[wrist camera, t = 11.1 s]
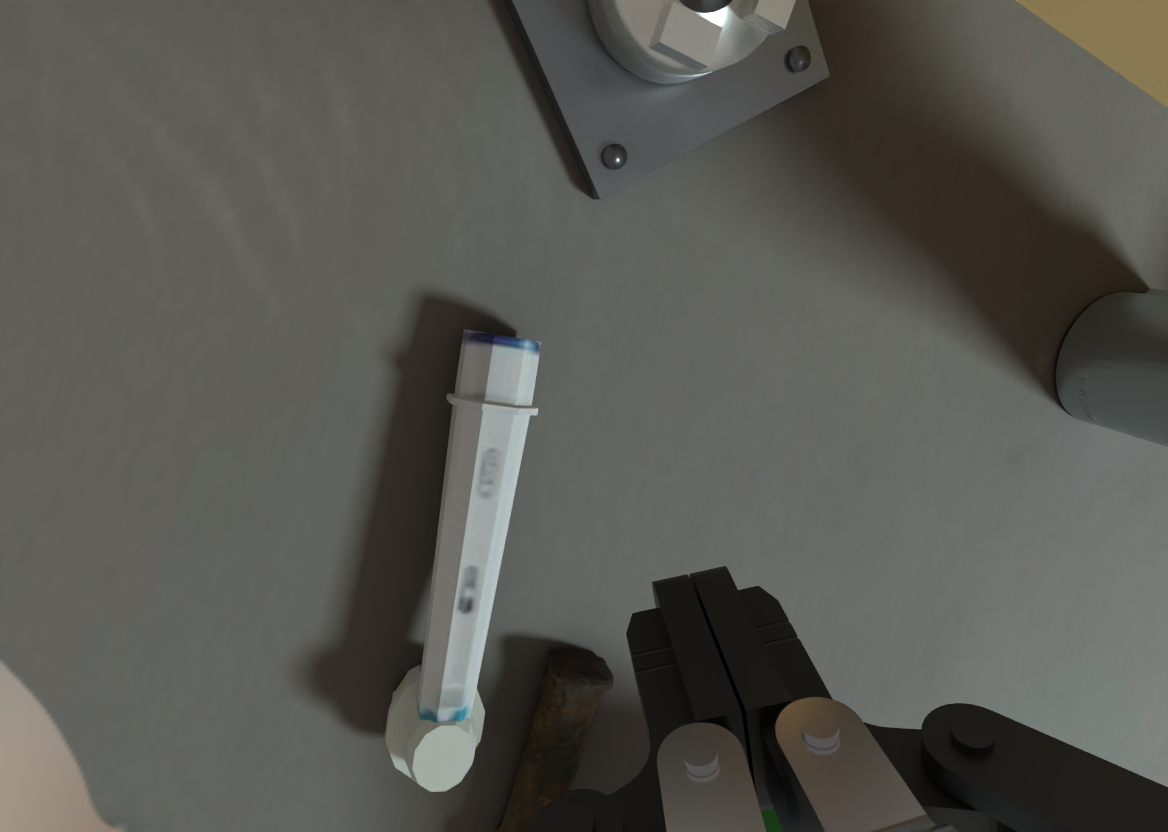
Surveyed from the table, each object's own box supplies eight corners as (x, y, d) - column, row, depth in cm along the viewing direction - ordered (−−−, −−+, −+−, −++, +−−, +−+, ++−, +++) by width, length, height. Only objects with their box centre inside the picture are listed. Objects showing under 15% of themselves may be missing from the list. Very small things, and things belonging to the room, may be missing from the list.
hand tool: (543, 637, 44) (562, 684, 39) (602, 647, 45) (627, 693, 41) (451, 890, 47) (459, 959, 43) (508, 891, 48) (522, 958, 44)
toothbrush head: (564, 345, 35) (487, 826, 37) (531, 340, 41) (467, 751, 43) (456, 328, 33) (383, 832, 35) (439, 325, 39) (378, 754, 42)
